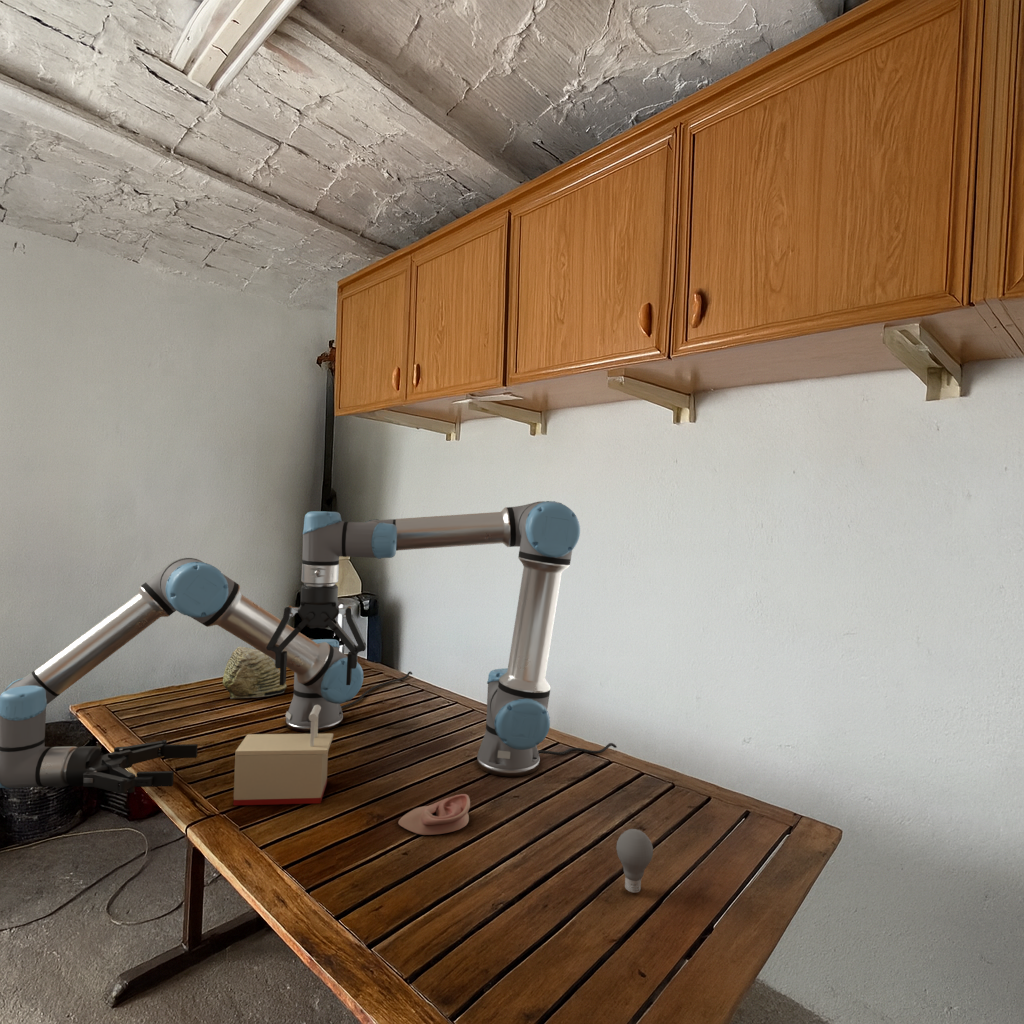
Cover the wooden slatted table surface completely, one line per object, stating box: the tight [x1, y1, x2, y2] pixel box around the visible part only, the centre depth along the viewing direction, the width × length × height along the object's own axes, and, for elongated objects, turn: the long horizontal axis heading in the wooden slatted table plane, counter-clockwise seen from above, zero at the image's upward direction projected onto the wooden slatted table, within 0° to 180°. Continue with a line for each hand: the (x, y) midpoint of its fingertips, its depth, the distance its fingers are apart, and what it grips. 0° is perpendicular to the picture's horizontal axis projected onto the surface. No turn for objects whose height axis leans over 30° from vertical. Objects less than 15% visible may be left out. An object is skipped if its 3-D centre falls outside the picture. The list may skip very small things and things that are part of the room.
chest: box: [232, 752, 329, 806], centre depth 134 cm, size 17×9×10 cm, turn 99°
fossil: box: [222, 646, 288, 699], centre depth 198 cm, size 9×18×15 cm, turn 132°
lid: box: [234, 705, 334, 755], centre depth 134 cm, size 18×9×8 cm, turn 99°
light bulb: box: [615, 828, 654, 894], centre depth 106 cm, size 6×6×10 cm
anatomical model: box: [397, 793, 471, 836], centre depth 125 cm, size 13×4×12 cm
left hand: (185, 764), depth 131 cm, fingers open, 13 cm apart
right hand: (316, 683), depth 135 cm, fingers open, 13 cm apart
